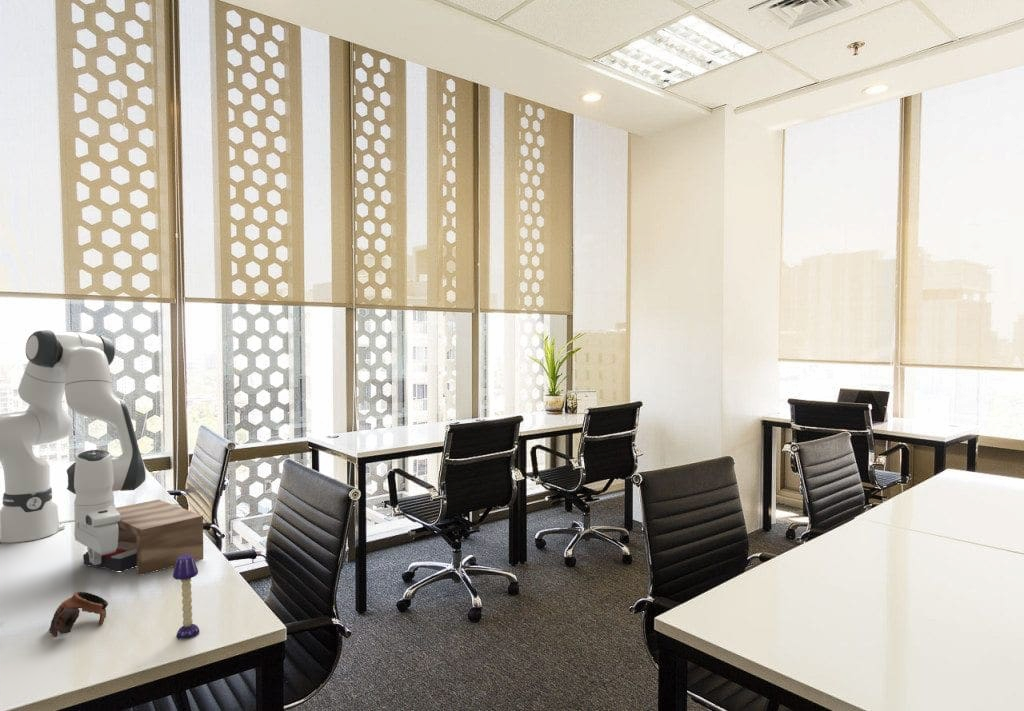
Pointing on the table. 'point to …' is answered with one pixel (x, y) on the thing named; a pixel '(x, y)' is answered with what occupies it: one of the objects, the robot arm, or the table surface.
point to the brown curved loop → (76, 611)
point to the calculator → (117, 557)
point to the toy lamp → (186, 594)
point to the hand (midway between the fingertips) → (95, 563)
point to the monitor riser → (160, 533)
